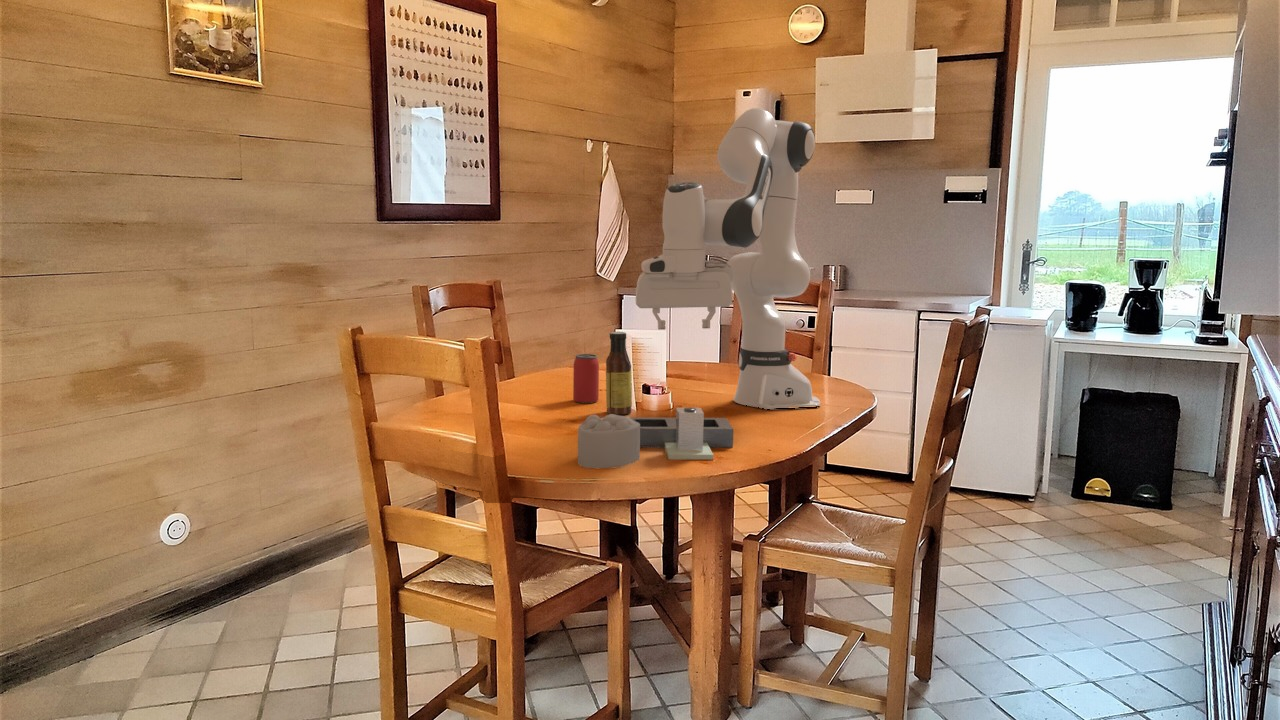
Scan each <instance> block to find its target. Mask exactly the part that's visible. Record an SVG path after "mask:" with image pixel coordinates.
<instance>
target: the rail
mask: <svg viewBox="0 0 1280 720" xmlns="http://www.w3.org/2000/svg"><path fill="white" fill-rule="evenodd" d="M628 417H629V416H628ZM629 418H631V419H632V420H633V421H635V422H638V423H639V424H640V448H665V447H664V446H665V443H676V417H642V416H641V417H633V416H632V417H629ZM703 443H707V444H708V445H709V447H710V448H733V447H734V428H733V426H732V424H731V423H730V421H729V420H728V419H727V417H704V425H703Z"/></svg>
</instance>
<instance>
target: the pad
mask: <svg viewBox="0 0 1280 720" xmlns="http://www.w3.org/2000/svg"><path fill="white" fill-rule="evenodd" d="M663 448H664V451H665V452H666V456H667V459H668V460H714V453H713V451H712V450H711V447H709V445H708V444H707V443H703V452H678V450H677V448H676V443H665V446H664V447H663Z"/></svg>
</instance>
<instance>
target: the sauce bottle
mask: <svg viewBox="0 0 1280 720" xmlns="http://www.w3.org/2000/svg"><path fill="white" fill-rule="evenodd" d="M609 339H610V351H609V354H608V356H607V357H606V360H605V361H606V362H605V364H606V367H605V368H606V371H605V390H606V392H605V393H606V394H605V398H606V412H607V413H608V414H615V415H619V416H624V415H629V414H631V412H632V407H633V400H632V399H633V398H632V397H633V395H632V390H633V388H632V386H633V384H632V383H633V382H632V364H631V361H630V358H629V355H628V352H627V346H626V345H627V341H626V340H627V332H625V331H612V332H611V331H610V332H609Z"/></svg>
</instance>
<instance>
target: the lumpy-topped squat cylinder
mask: <svg viewBox="0 0 1280 720" xmlns="http://www.w3.org/2000/svg"><path fill="white" fill-rule="evenodd" d="M640 448H641V447H640V424H639V423H638V422H635V421H633V420H632V419H631V418H629V416H624V415H615V414H610V413H608V414H607V415H605V416H604V417H600V416H599V415H597V414H589V415H588V416H587V417H586V418H585V420H584V421H582V422H581V424H579V426H578V428H577V464H578V463H579V464H578V465H579V466H580V465H581V466H580V467H582V466H583V467H582V468H585V467H587V468H586V469H591V468H608V469H614V468H613V467H617V468H622V467H625V465H626V466H628V464H629V465H631V464H633V462H634V463H636V462H638V461H640V459H641V458H640V453H641V452H640V451H641V449H640ZM639 458H640V459H639ZM637 460H638V461H637ZM635 461H636V462H635ZM630 463H631V464H630ZM621 466H622V467H621Z"/></svg>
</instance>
